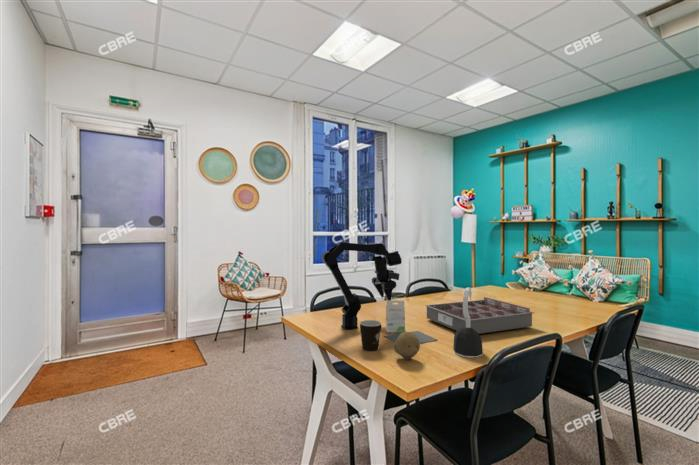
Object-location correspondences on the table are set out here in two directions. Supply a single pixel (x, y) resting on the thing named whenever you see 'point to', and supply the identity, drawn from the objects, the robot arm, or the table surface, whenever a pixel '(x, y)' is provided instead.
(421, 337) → the mat
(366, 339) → the coffee mug
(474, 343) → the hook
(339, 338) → the table surface
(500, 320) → the organizer tray
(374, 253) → the robot arm
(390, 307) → the ink box
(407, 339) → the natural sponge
